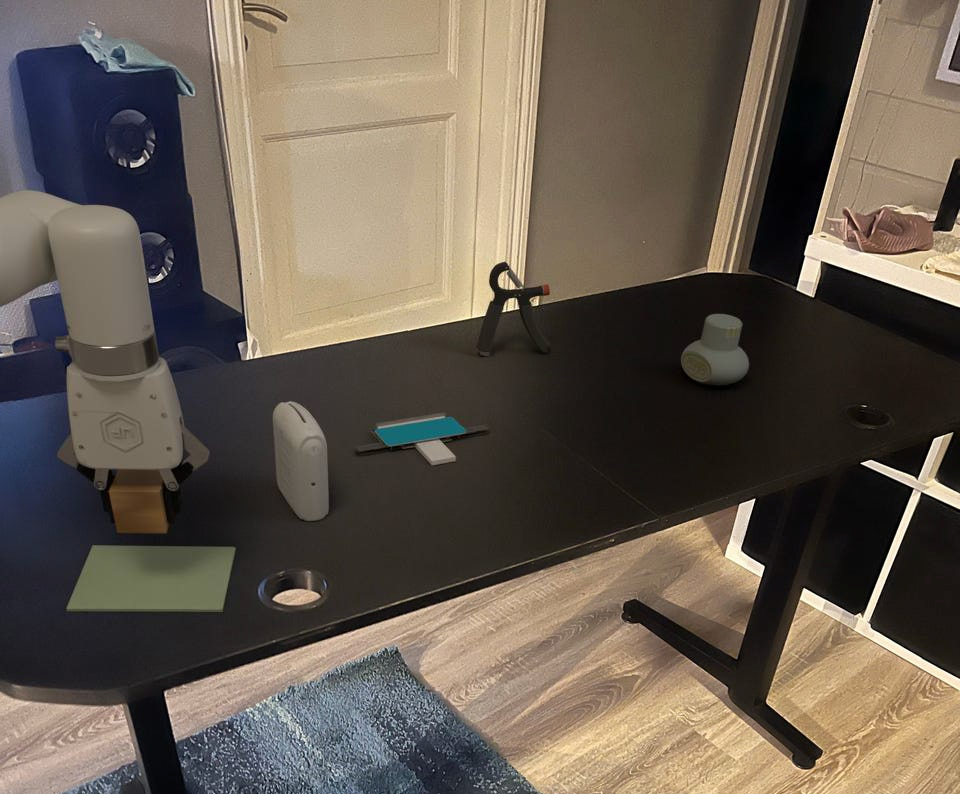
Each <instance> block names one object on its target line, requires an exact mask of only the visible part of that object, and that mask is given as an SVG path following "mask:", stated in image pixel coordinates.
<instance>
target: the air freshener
mask: <svg viewBox="0 0 960 794" xmlns="http://www.w3.org/2000/svg"><path fill="white" fill-rule="evenodd" d="M742 329H743V322H742V320H741V319H739V318H738V317H736V316H734V315H730V314H726V313H712V314H710V315H707V317H705V320H704V323H703V329H702V333H701V336H700V337H701V338H700V339H699V340H695V341H694V342H692V343H690V344H689V345H687V346H686V347H685V348H684V350H683V352H682V353H681V357H680V363H681V364H680V365H681V367H682V369H683V371H684V372H685V374H686V375H687V376H688V377H690V378H691V380H693V381H695V380H696V381H699V382H701V383H705V384H711V385H725V386H730V385H732V384H735V383H738V382H739V381H741V380H742V379H743V378H744V377H745V376H746V375H747V373H748V371H749V367H750V361H749V357H748V355H747V353H746V352H745V351H744V349H742V347H740V346H739V342H740V337H741V333H742ZM696 381H695V382H696ZM729 384H730V385H729Z"/></svg>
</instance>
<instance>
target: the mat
mask: <svg viewBox="0 0 960 794" xmlns="http://www.w3.org/2000/svg"><path fill="white" fill-rule="evenodd" d="M236 551H237V549H236V547H235V546H188V545H187V546H186V545H185V546H183V545H182V546H179V545H176V546H174V545H173V546H172V545H104V544H103V545H101V544H100V545H99V544H96V545H95V544H94V545H92V546H91V548H90V551H89V553H88V556H87V558H86V560H85V563H84V564H83V568H82V569H81V572H80V575H79V577H78V580H77V581H76V583H75V584H76V585H75V586H74V589H73V591H72V594H71V597H70V598H69V601H68V603H67V606H66V608H65V609H66V611H67V612H90V613H91V612H93V613H94V612H100V613H101V612H102V613H105V612H107V613H108V612H109V613H111V612H112V613H114V612H115V613H116V612H117V613H119V612H121V613H122V612H123V613H125V612H126V613H134V612H135V613H156V612H157V613H223V612H224V608H225V603H226V599H227V598H226V597H227V594H228V589H229V584H230V580H231V575H232V574H231V573H232V570H233V564H234V561H235V555H236Z"/></svg>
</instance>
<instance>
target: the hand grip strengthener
mask: <svg viewBox="0 0 960 794" xmlns="http://www.w3.org/2000/svg"><path fill="white" fill-rule="evenodd" d="M504 272H506V276H507V277H508V278H509V279H510V280H511V282H512V283H513V285H514V286H515V287H516V288H512V289H507V288H502V287H501V286H500V285H499V277H500V275H501V274H502V273H504ZM488 285H489V288H490V289H491V290H492V292H493V299H492V300H489V303H488V306H487V309H486V311H485V314H484V318H483V321H482V325H481V329H480V331H479V335H478V340H477V345H476V347H477V349H478V350H479V351H481V352H482V351H483V352H490V353H491V351H492V347H493V344H494V339H495V336H496V332H497V329H498V325H499V322H500V319H501V316H502V314H503V312H504V311H503V310H504V307H505V304H506V302H508V301H509V300H510V299H511V300H512V299H516V302H517V305H518V310H519V315H520V318H521V322H522V324H523V326H524V328H525V330H526V331H527V334H528V335H529V337H530V338H531V340H532V341H533V343H534V344H535V345H536V346H537V348H538V349H539V350H540V351H542V350H543V351H545V350H548V351H550V350H551V349H552V346H551V343H550V341H549V340H548V339H547V338H546V337H545V336H544V334H542V331H541V330H540V328H539V327H538V325H537V323H536V321H535V318H534V315H533V303H532V302H531V299H534V298H537V297H546V296H550V293H551V290H550V285H549V284H548V283H546V284H541V285H538V286H531V287H525V286H524V284H523V283H522V281H521V279H520V278H519V276H517V275H516V273H515V272H514V270H513V269H512V268H511V267H510V265H509V264H508V263H507V261H502V262H499V263H496V264H495V265H494V266H493V268H492V269H491V271H490V273H489V276H488ZM543 351H542V352H543Z"/></svg>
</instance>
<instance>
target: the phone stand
mask: <svg viewBox="0 0 960 794" xmlns="http://www.w3.org/2000/svg"><path fill="white" fill-rule="evenodd" d="M446 416H447V413H446V412H445V411H444V412H437V413H431V414H425V415H418V416H414V417H407V418H401V419H394V420H389V421H382V422H376V423H375V429H371V434H372V435H373V436H374V438H375V439H377V442H372V443H368V444H361V445H356V446H354V448H355V449H356V450H354V452H355V453H356V454H357V456H358V457H360V456H361V457H362V456H365V455H374V454H381V453H386V452H392V451H398V450H403V449H404V450H405V449H409V448H415V449H416V450H417V451H418V453H420V454H421V456H422V457H423V458H424V459H425V460H426V461H427V463H429V464H430V465H431V466H437V465H443V464H447V463H452V462H457V456H456V455H455V454H454V453H453V452H452V451H451V450H450V449H449V448H448V447H447V446H446V445H445V444H444V443H445V442H450V441H456V440H460V439H466V438H472V437H473V438H474V437H477V436H481V435H486V434H490V433H489V431H488V430H489V429H490V428H489V427H488V426H487V425H486V424H479V425H473V426H466V427H463V426H462V425H461V424H460V422H459V421H457V420H456V419H455V418H454V417H452V416H447V417H446Z"/></svg>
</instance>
